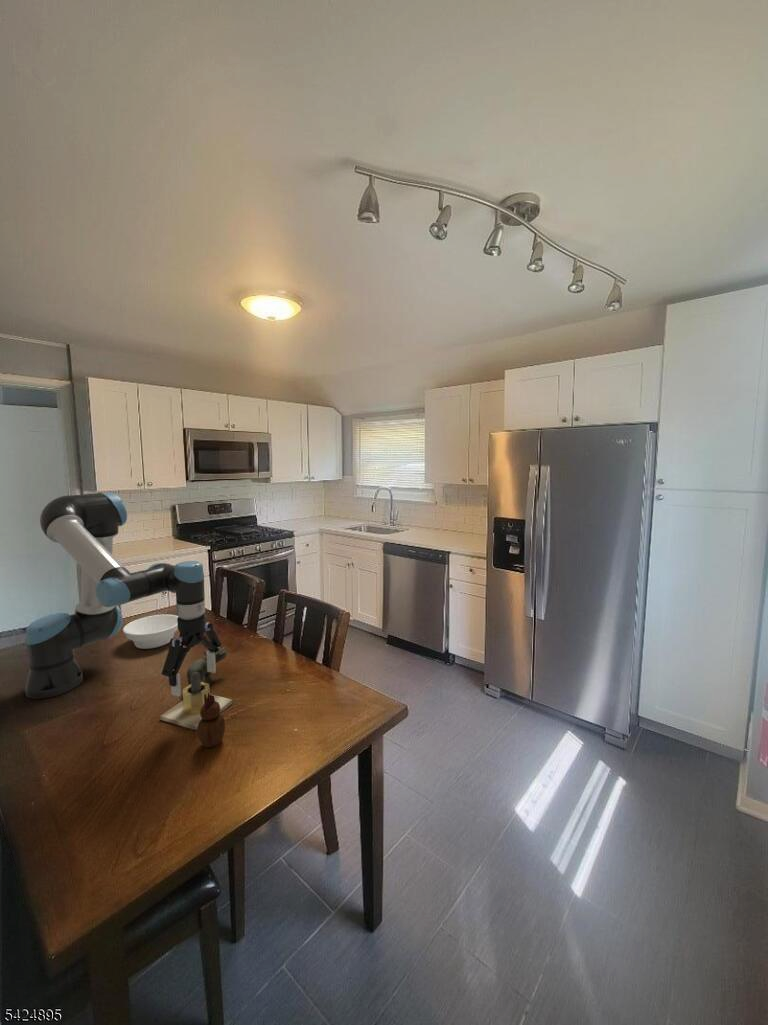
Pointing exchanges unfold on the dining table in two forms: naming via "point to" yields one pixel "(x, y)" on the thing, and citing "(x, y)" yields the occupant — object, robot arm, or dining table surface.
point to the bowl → (151, 630)
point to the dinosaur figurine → (204, 666)
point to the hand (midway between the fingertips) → (194, 682)
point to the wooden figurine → (210, 723)
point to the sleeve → (194, 699)
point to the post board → (191, 721)
